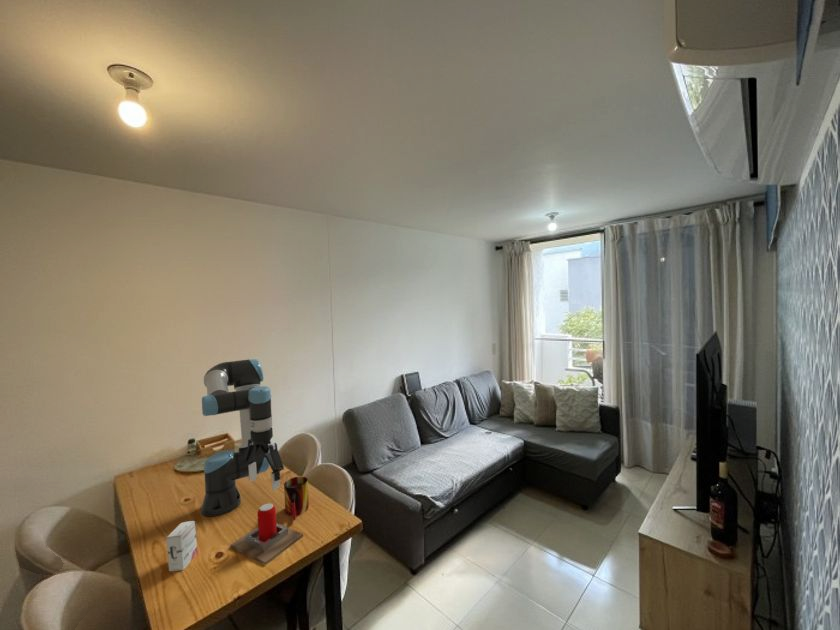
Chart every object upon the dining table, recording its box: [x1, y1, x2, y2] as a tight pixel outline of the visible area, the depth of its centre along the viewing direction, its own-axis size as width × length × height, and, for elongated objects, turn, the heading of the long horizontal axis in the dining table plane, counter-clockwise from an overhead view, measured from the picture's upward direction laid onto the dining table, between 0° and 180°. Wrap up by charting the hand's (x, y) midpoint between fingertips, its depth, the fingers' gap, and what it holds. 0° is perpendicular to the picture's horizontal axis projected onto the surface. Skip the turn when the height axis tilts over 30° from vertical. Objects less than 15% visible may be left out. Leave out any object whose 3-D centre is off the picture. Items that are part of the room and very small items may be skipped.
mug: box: [283, 476, 310, 521], centre depth 144 cm, size 10×14×12 cm
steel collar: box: [245, 522, 289, 552], centre depth 125 cm, size 10×10×3 cm
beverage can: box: [257, 503, 277, 542], centre depth 126 cm, size 6×6×12 cm
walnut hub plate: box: [230, 522, 304, 566], centre depth 125 cm, size 20×16×1 cm
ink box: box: [165, 520, 198, 572], centre depth 117 cm, size 9×5×12 cm, turn 5°
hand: (264, 484), depth 127 cm, fingers open, 13 cm apart
